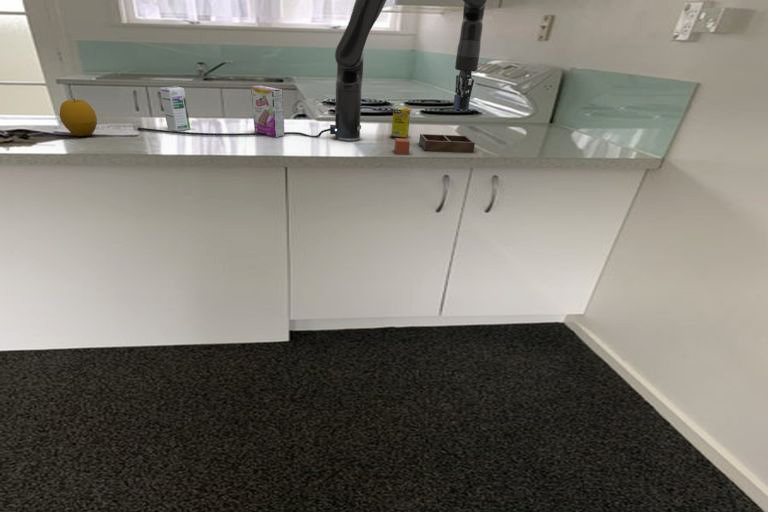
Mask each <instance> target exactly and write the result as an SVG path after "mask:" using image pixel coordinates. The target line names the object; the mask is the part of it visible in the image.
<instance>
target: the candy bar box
mask: <svg viewBox="0 0 768 512" xmlns="http://www.w3.org/2000/svg"><path fill="white" fill-rule="evenodd" d="M250 90H251V92H250V93H251V103H252V114H253V116H252V117H253V125H254V133H266V134H267V135H266V136H268V137H272V138H281V137H284V136H285V135H286V134H284V132H285V117H284V115H285V114H284V94H283V89H281V88H277V87H272V86H271V87H270V86H266V85H251V86H250Z"/></svg>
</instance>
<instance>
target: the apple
mask: <svg viewBox="0 0 768 512" xmlns="http://www.w3.org/2000/svg"><path fill="white" fill-rule="evenodd" d="M59 118H60V121H61V123H62V124H63V126H64V128H66V129H67V131H68V132H70V133H71V134H72V135H73V136H75V137H76V138H77V137H88V136H91V135H92V134H93V133H94V132H95V130H96V129H97V125H98V118H97V115H96V112H95V110H94V108H93V107H92V106H91V105H90V103H88V101H85V100H84V99H75V98H73V99H67V100H64V101H63V102H62V103H61V104H60V107H59Z"/></svg>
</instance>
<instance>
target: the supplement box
mask: <svg viewBox="0 0 768 512" xmlns="http://www.w3.org/2000/svg"><path fill="white" fill-rule="evenodd" d="M410 117H411V108H409V107H402V106H395V108H393V110H392V126H391V135H390V136H391V138H392V139H395V138H404V139H408V137H409V130H410Z"/></svg>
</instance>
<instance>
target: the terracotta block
mask: <svg viewBox="0 0 768 512" xmlns="http://www.w3.org/2000/svg"><path fill="white" fill-rule="evenodd" d="M410 145H411V141H410V140H409V138H406V139H404V138H394V153H395V154H396V155H410Z"/></svg>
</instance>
